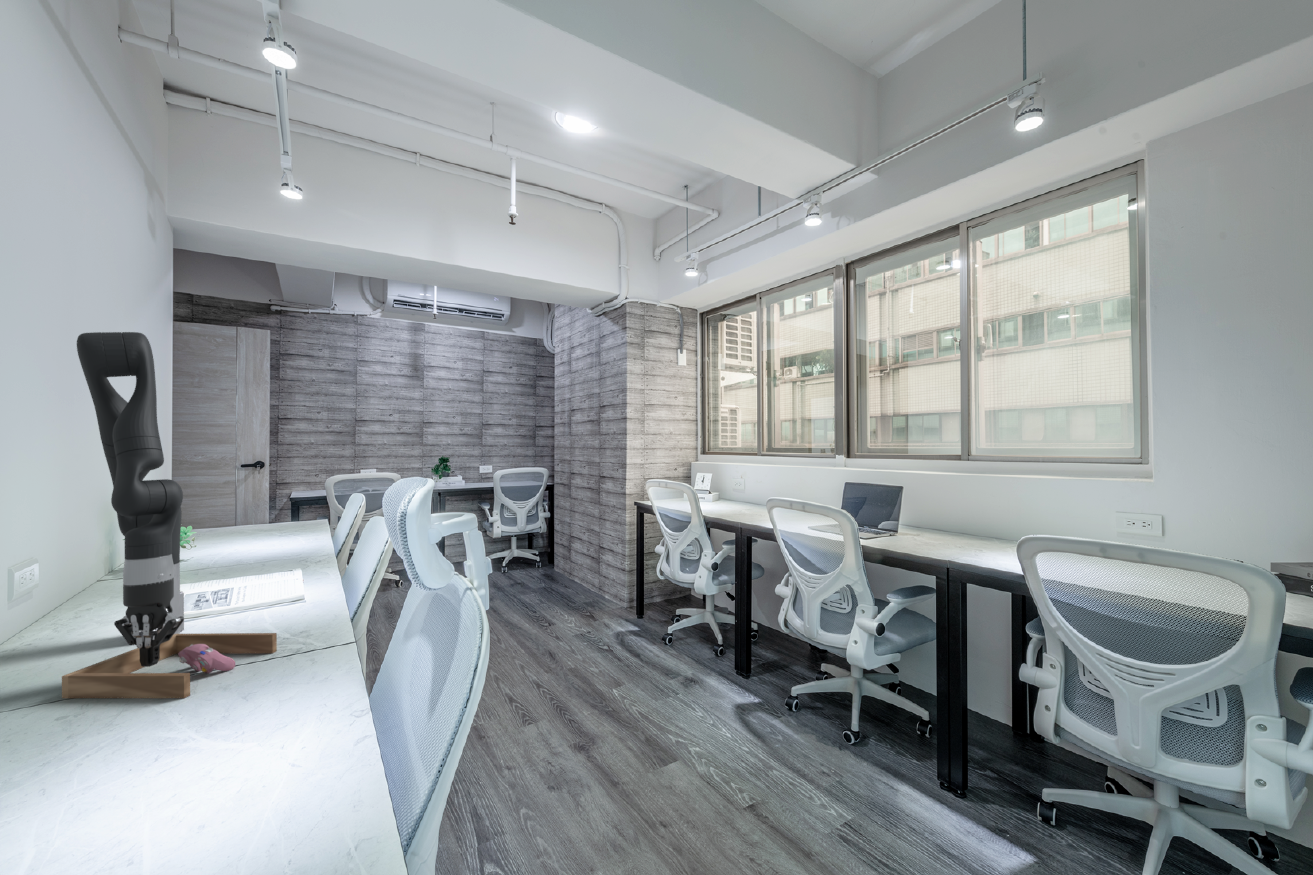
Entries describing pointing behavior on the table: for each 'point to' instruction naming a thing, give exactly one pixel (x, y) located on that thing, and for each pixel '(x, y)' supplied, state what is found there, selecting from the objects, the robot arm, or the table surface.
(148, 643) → the robot arm
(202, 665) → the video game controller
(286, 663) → the table surface
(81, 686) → the wooden u-shaped frame
